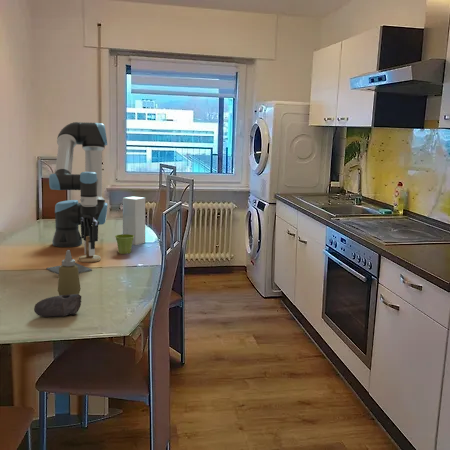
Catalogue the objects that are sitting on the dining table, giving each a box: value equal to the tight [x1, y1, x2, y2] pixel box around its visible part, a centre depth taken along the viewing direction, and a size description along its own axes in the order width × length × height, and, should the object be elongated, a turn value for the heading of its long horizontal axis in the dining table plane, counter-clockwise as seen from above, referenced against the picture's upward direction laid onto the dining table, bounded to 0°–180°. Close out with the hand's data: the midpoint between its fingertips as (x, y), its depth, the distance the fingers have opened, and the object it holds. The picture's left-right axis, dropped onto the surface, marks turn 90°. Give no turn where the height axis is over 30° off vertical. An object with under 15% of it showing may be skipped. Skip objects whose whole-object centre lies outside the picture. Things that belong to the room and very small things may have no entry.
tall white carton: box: [122, 195, 146, 246], centre depth 278 cm, size 9×9×25 cm
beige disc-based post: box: [78, 236, 102, 263], centre depth 240 cm, size 10×10×11 cm
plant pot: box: [114, 233, 134, 255], centre depth 256 cm, size 9×9×9 cm
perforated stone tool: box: [33, 293, 82, 318], centre depth 168 cm, size 15×5×7 cm, turn 107°
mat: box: [46, 262, 93, 276], centre depth 223 cm, size 14×14×1 cm
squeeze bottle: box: [57, 249, 81, 296], centre depth 184 cm, size 8×8×18 cm
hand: (89, 254), depth 240 cm, fingers closed on beige disc-based post, 3 cm apart
